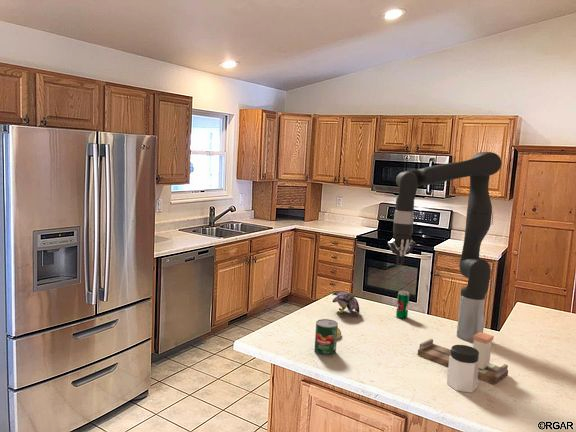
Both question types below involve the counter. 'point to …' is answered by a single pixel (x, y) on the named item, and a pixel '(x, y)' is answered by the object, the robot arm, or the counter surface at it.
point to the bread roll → (338, 333)
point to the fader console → (442, 357)
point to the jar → (463, 368)
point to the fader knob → (483, 348)
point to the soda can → (402, 304)
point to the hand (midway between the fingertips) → (400, 264)
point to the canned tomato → (326, 337)
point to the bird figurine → (346, 301)
